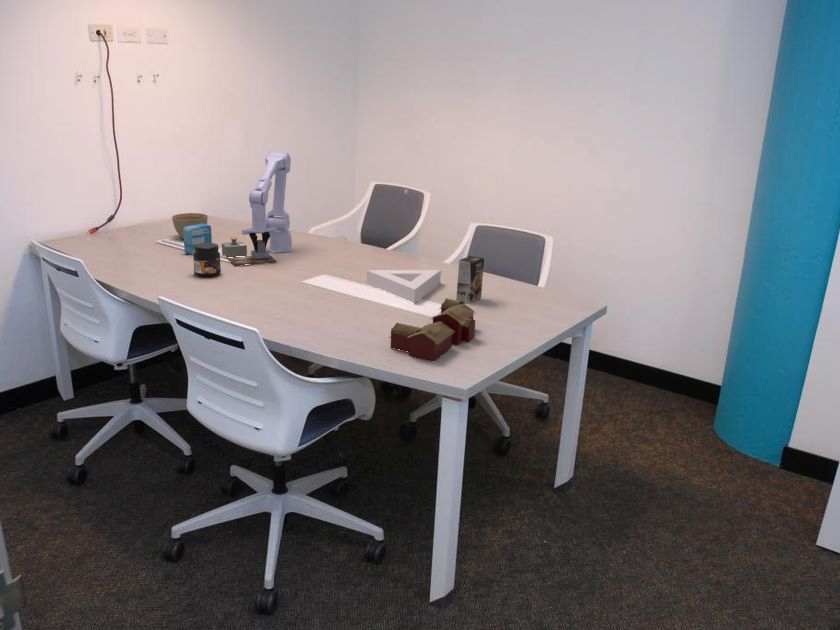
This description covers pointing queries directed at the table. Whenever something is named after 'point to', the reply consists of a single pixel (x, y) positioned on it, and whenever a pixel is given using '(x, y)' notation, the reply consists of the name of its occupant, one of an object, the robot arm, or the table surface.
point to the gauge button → (233, 240)
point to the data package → (196, 236)
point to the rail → (250, 260)
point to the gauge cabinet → (234, 249)
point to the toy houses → (436, 332)
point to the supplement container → (206, 260)
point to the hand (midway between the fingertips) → (259, 249)
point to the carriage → (260, 251)
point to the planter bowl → (188, 221)
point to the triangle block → (405, 282)
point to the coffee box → (470, 279)
